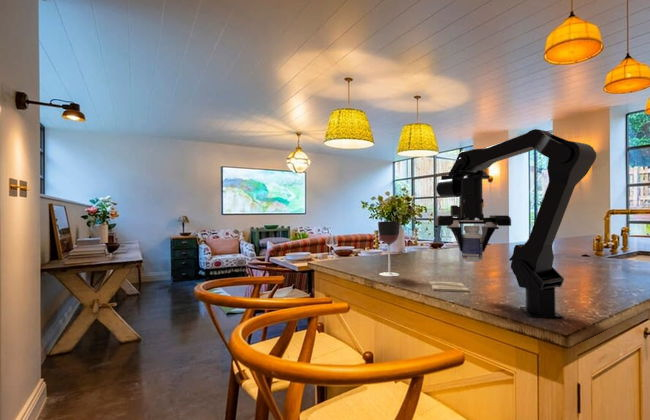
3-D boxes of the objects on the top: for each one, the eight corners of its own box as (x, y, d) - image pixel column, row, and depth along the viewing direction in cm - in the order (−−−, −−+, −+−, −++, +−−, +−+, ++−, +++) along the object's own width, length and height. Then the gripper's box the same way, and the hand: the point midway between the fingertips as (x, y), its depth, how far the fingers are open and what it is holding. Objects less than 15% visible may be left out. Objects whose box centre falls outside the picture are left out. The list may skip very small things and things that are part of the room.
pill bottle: (485, 262, 87) (484, 226, 87) (464, 261, 88) (463, 226, 88) (479, 259, 92) (479, 225, 93) (459, 258, 94) (459, 225, 94)
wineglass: (403, 273, 124) (402, 221, 124) (395, 277, 117) (394, 222, 117) (383, 271, 129) (383, 221, 129) (375, 275, 121) (374, 222, 121)
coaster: (469, 291, 95) (469, 289, 95) (433, 290, 97) (433, 288, 97) (461, 284, 105) (461, 282, 105) (429, 283, 106) (429, 281, 106)
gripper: (497, 196, 97) (498, 248, 96) (432, 197, 100) (433, 247, 100) (511, 194, 86) (512, 253, 86) (438, 196, 89) (438, 252, 89)
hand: (471, 251), depth 90 cm, fingers closed on pill bottle, 5 cm apart
